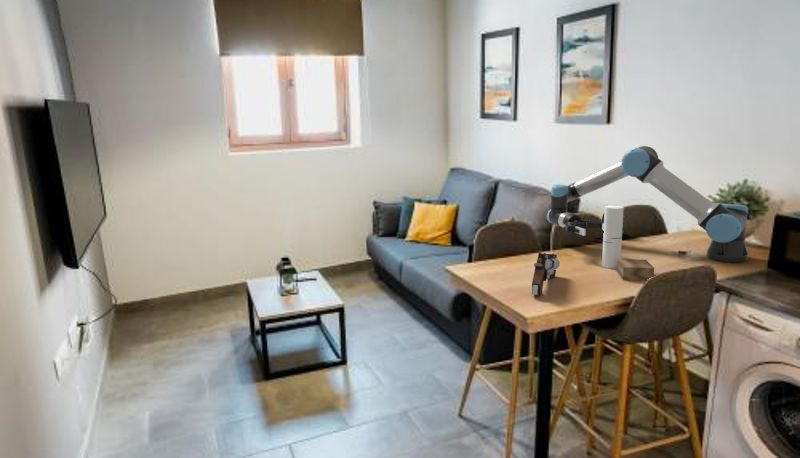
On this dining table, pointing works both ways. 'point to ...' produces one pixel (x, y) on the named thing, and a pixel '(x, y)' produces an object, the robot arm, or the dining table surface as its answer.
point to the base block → (634, 269)
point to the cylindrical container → (612, 235)
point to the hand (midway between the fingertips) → (598, 231)
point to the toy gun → (544, 271)
